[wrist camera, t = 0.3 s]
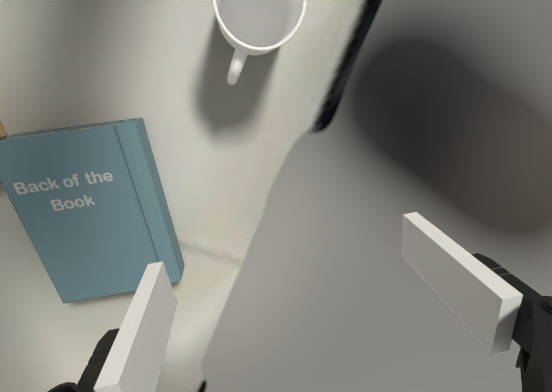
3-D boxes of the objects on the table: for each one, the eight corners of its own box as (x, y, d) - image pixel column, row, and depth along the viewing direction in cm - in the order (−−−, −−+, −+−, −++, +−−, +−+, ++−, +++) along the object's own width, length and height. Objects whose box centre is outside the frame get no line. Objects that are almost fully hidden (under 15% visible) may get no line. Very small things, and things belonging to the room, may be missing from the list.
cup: (298, -4, 35) (322, -31, 26) (260, 96, 39) (269, 104, 29) (231, -40, 33) (230, -84, 24) (198, 69, 37) (186, 68, 27)
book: (12, 134, 37) (-19, 143, 32) (144, 117, 38) (132, 123, 34) (80, 280, 46) (63, 303, 41) (185, 262, 47) (180, 282, 43)
